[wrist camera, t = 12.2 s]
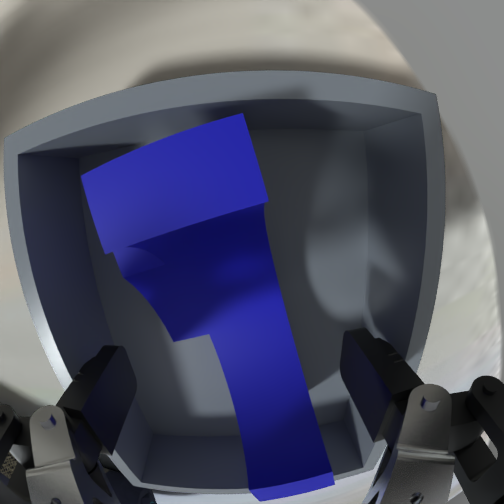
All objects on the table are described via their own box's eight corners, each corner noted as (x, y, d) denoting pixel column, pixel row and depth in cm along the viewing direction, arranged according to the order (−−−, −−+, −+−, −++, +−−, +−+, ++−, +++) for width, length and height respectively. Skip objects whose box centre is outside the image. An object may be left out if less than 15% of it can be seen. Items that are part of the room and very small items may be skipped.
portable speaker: (161, 466, 16) (146, 561, 6) (170, 502, 18) (163, 569, 9) (-29, 381, 14) (-67, 426, 4) (2, 433, 16) (-24, 476, 7)
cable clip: (130, 190, 10) (29, 205, 4) (238, 152, 10) (243, 112, 4) (224, 411, 13) (223, 505, 7) (305, 392, 13) (334, 484, 7)
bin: (148, 429, 14) (133, 485, 10) (75, 147, 10) (4, 137, 5) (348, 414, 15) (373, 469, 10) (367, 119, 10) (435, 94, 6)
